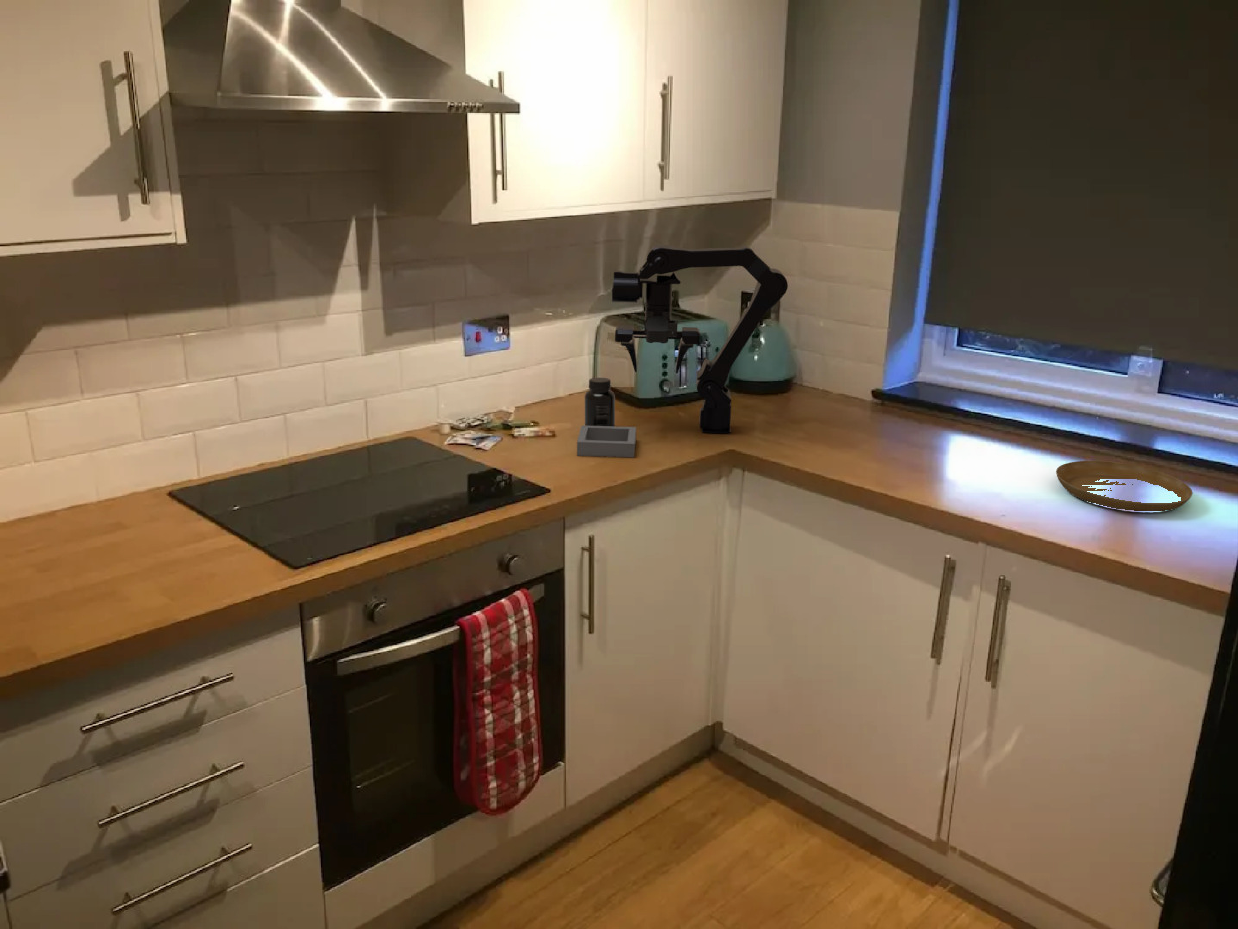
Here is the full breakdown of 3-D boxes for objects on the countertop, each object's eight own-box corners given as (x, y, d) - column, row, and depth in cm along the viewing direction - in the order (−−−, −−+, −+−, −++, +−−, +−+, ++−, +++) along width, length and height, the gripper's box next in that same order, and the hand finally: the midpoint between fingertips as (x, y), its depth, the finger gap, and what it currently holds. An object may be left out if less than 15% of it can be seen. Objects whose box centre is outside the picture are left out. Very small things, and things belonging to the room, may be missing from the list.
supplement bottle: (618, 429, 239) (619, 377, 235) (608, 437, 232) (609, 384, 229) (590, 425, 241) (591, 374, 237) (579, 433, 235) (580, 381, 231)
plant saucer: (1193, 490, 208) (1196, 474, 207) (1184, 529, 188) (1188, 511, 187) (1064, 467, 219) (1067, 452, 218) (1043, 502, 200) (1045, 485, 199)
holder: (635, 440, 231) (636, 427, 230) (634, 457, 219) (634, 443, 218) (581, 438, 231) (581, 425, 230) (576, 455, 220) (577, 441, 219)
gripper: (614, 308, 224) (613, 379, 229) (701, 311, 223) (698, 382, 228) (616, 299, 234) (615, 367, 239) (700, 302, 233) (697, 370, 238)
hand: (656, 372), depth 236 cm, fingers open, 9 cm apart
